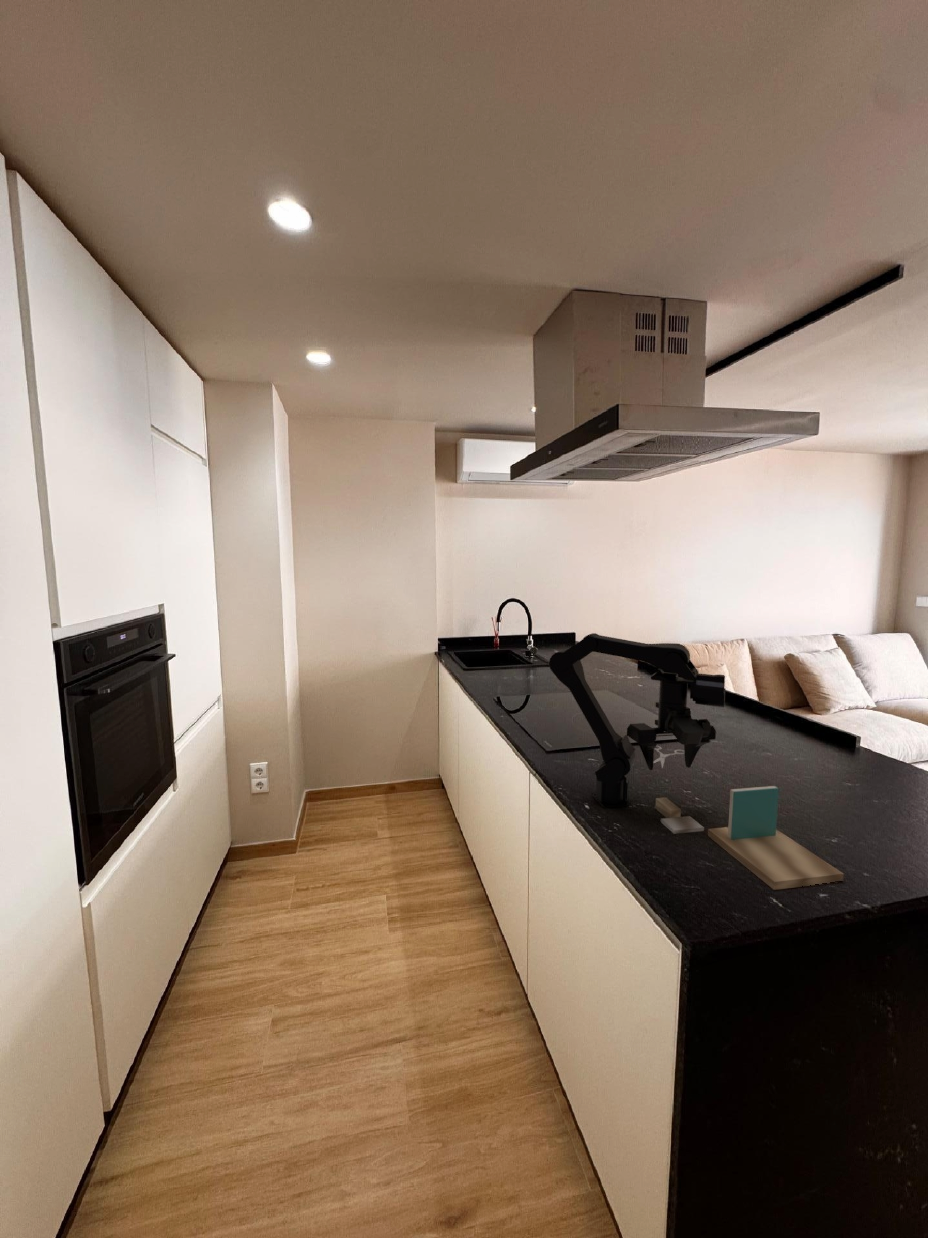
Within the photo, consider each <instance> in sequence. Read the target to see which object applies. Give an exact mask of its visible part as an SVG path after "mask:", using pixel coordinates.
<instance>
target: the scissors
mask: <svg viewBox="0 0 928 1238" xmlns="http://www.w3.org/2000/svg"><path fill="white" fill-rule="evenodd" d="M662 749H663V748H662V746H659V745H657V746H656V747H655V748H654V751H656V753H658V754H659V757H658V758H656V759H655V760H654V762H653V765H654V764H655V763H657V762H660V766H661V769H664V765H665V761H666V759H667V758H668V757H671V756H675V755H685V753H684V750H683V749H675V750H673V752H674V753H667V754H664V753H663V752H661V750H662Z"/></svg>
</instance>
